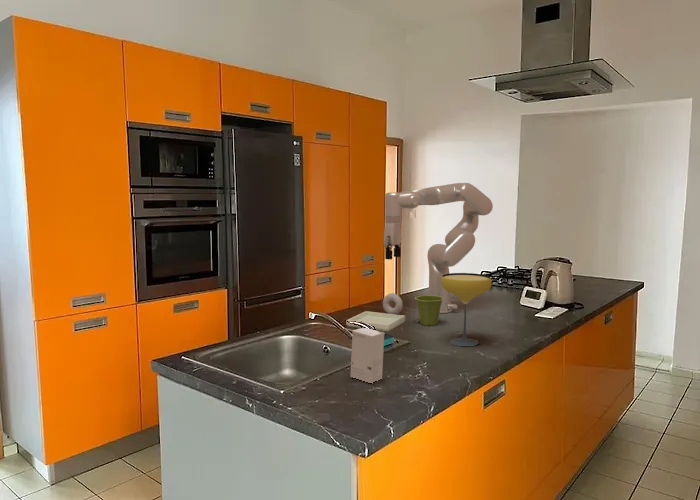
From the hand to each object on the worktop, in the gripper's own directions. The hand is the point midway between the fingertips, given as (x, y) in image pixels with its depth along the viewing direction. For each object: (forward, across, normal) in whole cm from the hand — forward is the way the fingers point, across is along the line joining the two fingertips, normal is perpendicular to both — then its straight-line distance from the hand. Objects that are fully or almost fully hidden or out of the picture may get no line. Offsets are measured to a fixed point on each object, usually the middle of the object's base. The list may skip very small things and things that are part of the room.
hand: (393, 258), depth 237 cm
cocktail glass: (+26, +29, +41) cm, 57 cm away
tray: (+26, +18, 0) cm, 32 cm away
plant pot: (+26, +8, +20) cm, 34 cm away
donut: (+26, 0, 0) cm, 27 cm away
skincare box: (+26, +80, +25) cm, 88 cm away
